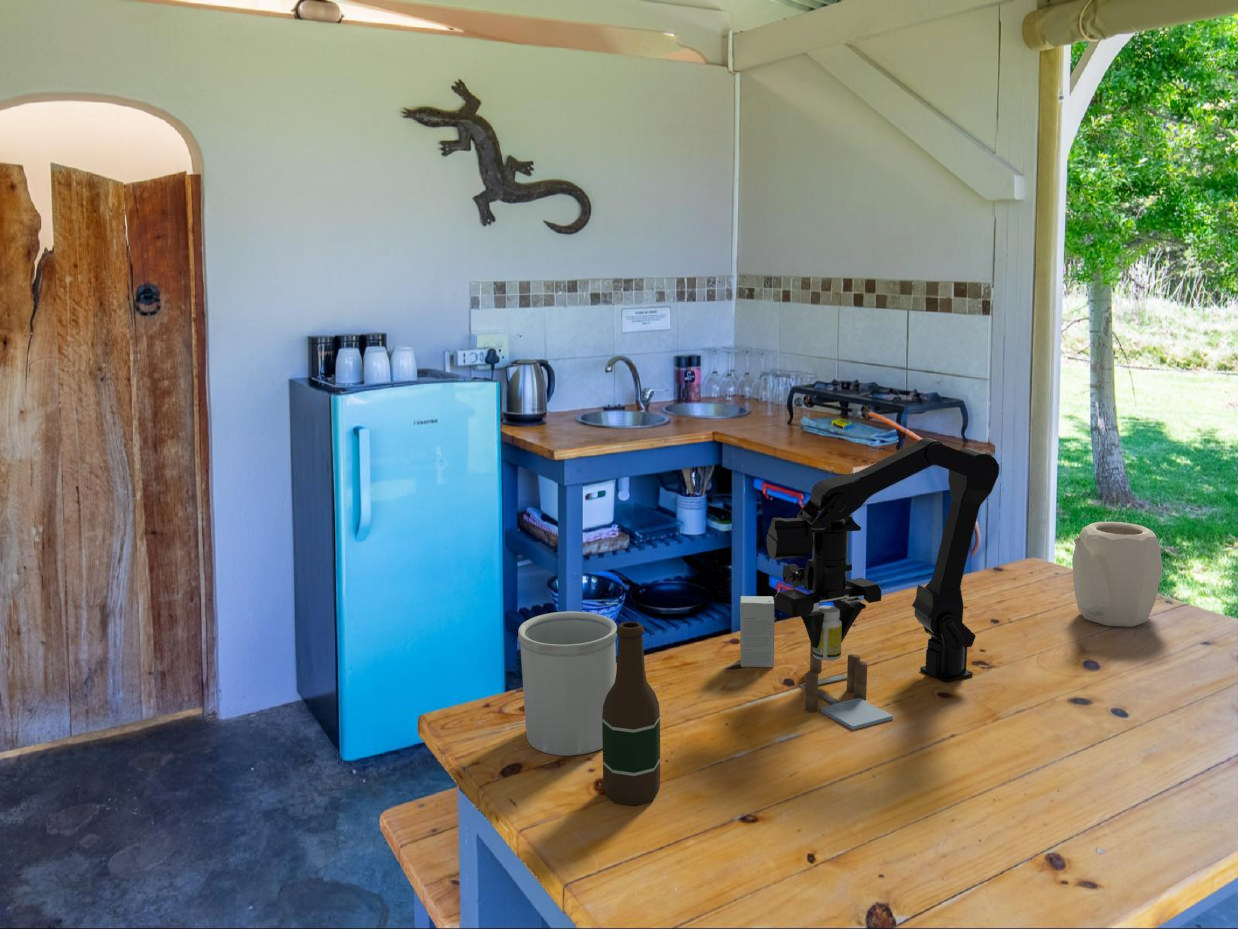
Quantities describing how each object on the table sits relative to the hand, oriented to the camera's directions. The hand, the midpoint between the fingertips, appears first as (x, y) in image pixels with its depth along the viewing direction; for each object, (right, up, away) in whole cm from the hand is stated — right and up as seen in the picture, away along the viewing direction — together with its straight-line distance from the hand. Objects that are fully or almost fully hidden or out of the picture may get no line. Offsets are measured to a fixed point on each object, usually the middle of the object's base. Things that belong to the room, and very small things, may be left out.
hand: (826, 645), depth 179 cm
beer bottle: (-34, -14, -36) cm, 51 cm away
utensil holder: (-43, -11, -18) cm, 48 cm away
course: (-2, -7, -2) cm, 8 cm away
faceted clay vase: (+62, -1, +30) cm, 69 cm away
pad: (+2, -9, -12) cm, 15 cm away
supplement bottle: (0, -2, 0) cm, 2 cm away
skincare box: (-11, -5, +10) cm, 16 cm away
